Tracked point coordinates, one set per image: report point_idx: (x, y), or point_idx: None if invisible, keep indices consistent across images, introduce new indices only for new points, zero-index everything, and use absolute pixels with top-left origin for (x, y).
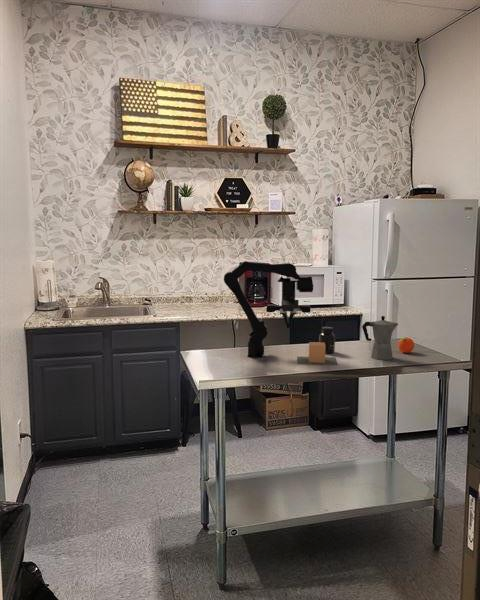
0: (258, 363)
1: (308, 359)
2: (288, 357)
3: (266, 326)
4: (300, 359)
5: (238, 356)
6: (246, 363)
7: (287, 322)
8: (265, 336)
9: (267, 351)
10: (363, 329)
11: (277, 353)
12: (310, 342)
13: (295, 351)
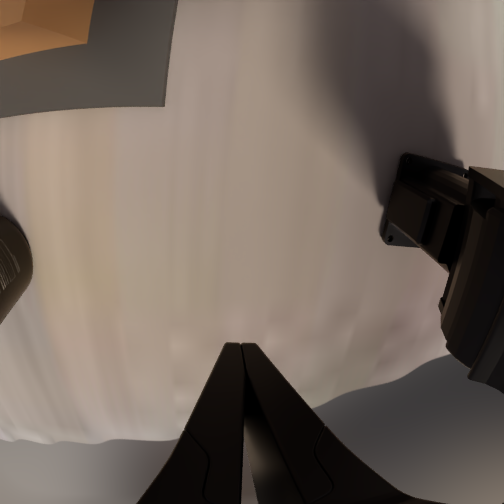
0: (427, 10)
1: (91, 22)
2: (225, 148)
3: (495, 334)
4: (148, 12)
5: None
6: (476, 31)
7: (269, 408)
8: (476, 206)
9: (340, 312)
10: None
11: (290, 268)
12: (11, 10)
13: (171, 322)
